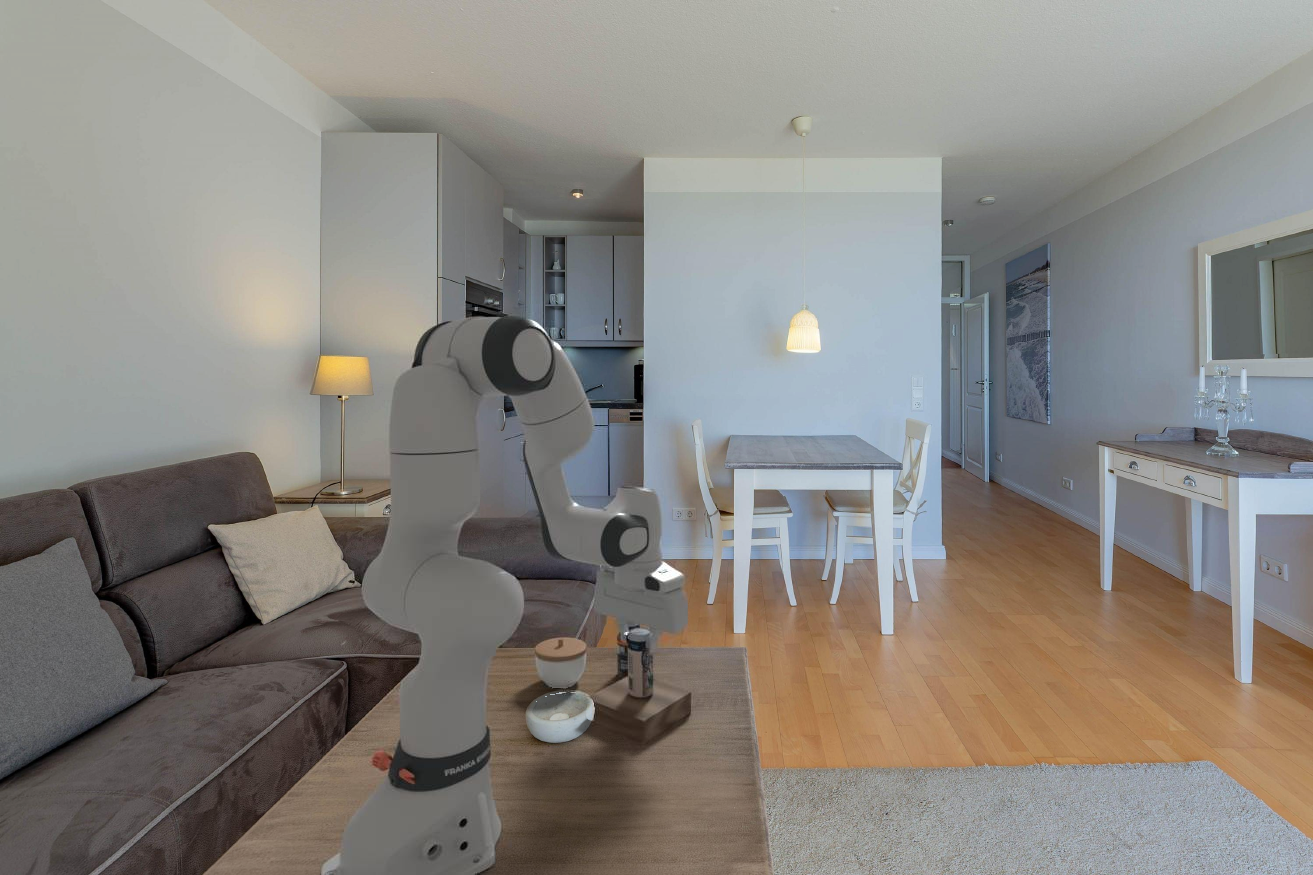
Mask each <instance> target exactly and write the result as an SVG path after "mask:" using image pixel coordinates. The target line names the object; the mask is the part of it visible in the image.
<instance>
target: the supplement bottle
mask: <svg viewBox="0 0 1313 875" xmlns="http://www.w3.org/2000/svg"><path fill="white" fill-rule="evenodd" d="M626 623H627V626H628V628H629V631H631V629H634V628H641V627H640V626H641V625H639V624H635V623H632V622H628V621H627V622H626ZM616 649H617V650H616V652H617V653H616V654H617V655H616V656H617V657H616V658H617V666H616V667H617V675H618V677H620V678H622V679H623V678H625V677H627V676H628V643H625V642H622V641H621V633H620V631H619V632H618V633H617V635H616Z"/></svg>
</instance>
